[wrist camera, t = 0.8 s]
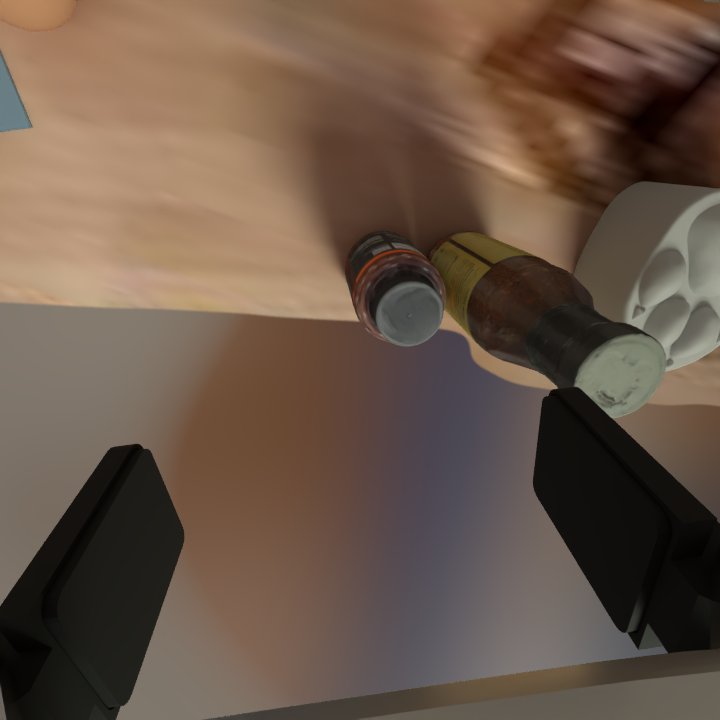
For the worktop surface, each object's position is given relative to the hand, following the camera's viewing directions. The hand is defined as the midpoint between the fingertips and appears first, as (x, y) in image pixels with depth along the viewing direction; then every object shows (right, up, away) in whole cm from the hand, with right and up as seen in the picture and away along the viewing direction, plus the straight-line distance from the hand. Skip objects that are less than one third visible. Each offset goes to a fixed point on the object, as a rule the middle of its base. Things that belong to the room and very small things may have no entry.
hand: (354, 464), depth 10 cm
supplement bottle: (+2, +10, +24) cm, 26 cm away
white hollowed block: (+24, +10, +26) cm, 37 cm away
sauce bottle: (+8, +10, +25) cm, 28 cm away
